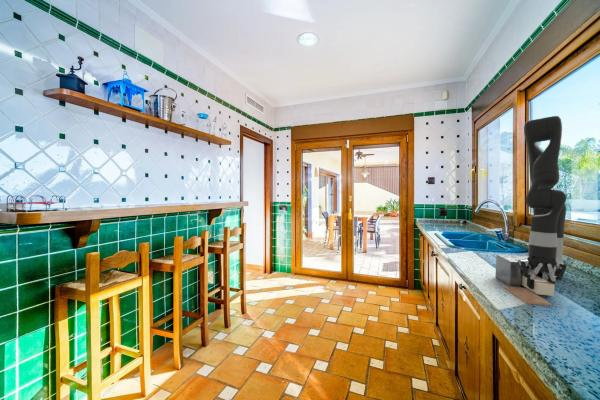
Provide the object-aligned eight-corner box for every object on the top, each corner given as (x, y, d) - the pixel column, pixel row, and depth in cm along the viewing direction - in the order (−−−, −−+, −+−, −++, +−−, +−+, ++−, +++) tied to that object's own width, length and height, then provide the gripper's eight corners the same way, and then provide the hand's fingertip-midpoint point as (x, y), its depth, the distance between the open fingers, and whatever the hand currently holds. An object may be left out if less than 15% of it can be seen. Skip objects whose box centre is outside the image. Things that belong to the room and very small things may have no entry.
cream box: (517, 282, 105) (518, 272, 104) (532, 283, 103) (532, 273, 103) (537, 294, 93) (538, 283, 93) (554, 295, 92) (554, 284, 92)
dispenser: (495, 276, 114) (496, 254, 114) (534, 280, 110) (535, 256, 110) (510, 287, 102) (511, 262, 101) (554, 291, 98) (555, 265, 98)
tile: (505, 288, 101) (505, 286, 101) (526, 290, 99) (526, 288, 99) (525, 303, 88) (525, 300, 88) (550, 305, 86) (550, 303, 86)
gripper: (559, 243, 96) (556, 287, 97) (514, 240, 100) (511, 283, 101) (574, 247, 89) (571, 295, 90) (525, 244, 93) (522, 291, 93)
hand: (540, 289), depth 95 cm, fingers closed on cream box, 5 cm apart
